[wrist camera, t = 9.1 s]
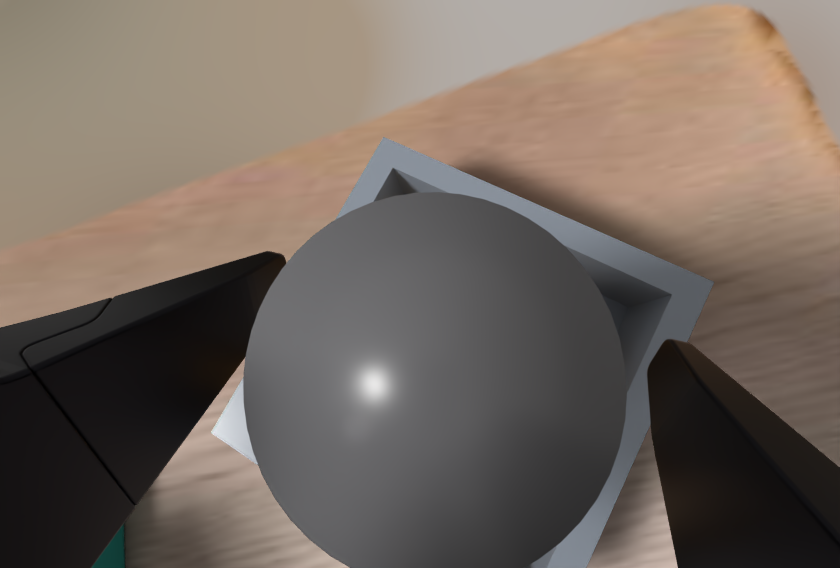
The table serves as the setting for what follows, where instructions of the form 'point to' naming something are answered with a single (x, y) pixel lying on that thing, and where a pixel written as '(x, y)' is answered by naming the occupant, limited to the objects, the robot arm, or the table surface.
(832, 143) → the table surface
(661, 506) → the table surface
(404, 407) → the grey capped shaker bottle
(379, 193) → the box
